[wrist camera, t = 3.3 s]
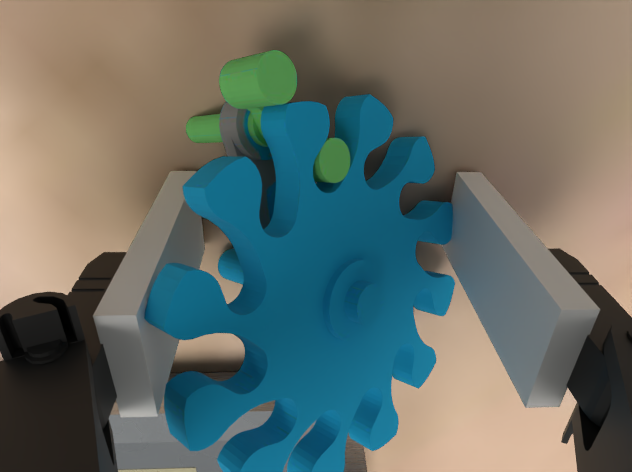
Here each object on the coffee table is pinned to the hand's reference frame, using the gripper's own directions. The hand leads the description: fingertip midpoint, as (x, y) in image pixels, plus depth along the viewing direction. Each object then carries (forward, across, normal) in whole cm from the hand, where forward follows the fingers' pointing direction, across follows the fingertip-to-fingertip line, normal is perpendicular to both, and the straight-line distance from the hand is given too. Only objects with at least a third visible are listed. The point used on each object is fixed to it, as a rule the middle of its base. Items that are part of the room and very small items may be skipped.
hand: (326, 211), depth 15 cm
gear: (+1, 0, 0) cm, 1 cm away
